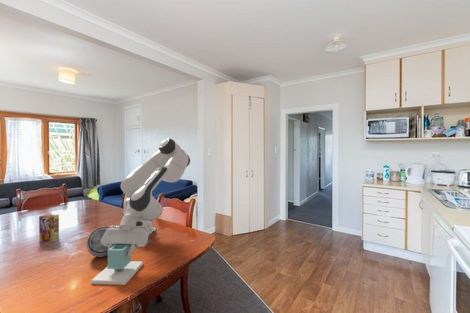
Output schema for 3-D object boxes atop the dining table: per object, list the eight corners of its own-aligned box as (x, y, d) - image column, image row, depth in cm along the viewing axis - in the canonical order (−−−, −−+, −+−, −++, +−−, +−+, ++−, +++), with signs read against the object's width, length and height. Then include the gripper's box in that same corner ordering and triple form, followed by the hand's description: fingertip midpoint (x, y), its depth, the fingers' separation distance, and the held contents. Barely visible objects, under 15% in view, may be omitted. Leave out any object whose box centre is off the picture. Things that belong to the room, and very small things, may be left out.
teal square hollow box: (116, 261, 102) (116, 243, 101) (130, 261, 101) (130, 243, 101) (107, 268, 95) (107, 250, 95) (123, 269, 95) (122, 250, 94)
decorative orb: (83, 264, 106) (83, 233, 105) (89, 251, 119) (89, 224, 118) (119, 258, 111) (118, 229, 111) (121, 247, 125) (120, 220, 124)
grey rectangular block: (117, 268, 99) (116, 255, 99) (123, 268, 99) (123, 255, 99) (114, 271, 97) (114, 257, 97) (121, 271, 97) (121, 257, 97)
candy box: (59, 239, 136) (59, 214, 135) (53, 242, 131) (53, 216, 131) (45, 239, 136) (44, 214, 135) (38, 241, 131) (38, 216, 131)
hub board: (113, 263, 106) (113, 260, 106) (142, 264, 106) (142, 261, 106) (91, 283, 90) (91, 280, 90) (125, 284, 90) (125, 281, 90)
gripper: (105, 222, 105) (92, 252, 95) (148, 223, 104) (139, 253, 95) (111, 228, 110) (98, 257, 100) (152, 229, 109) (143, 258, 99)
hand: (118, 255), depth 97 cm, fingers closed on teal square hollow box, 7 cm apart
